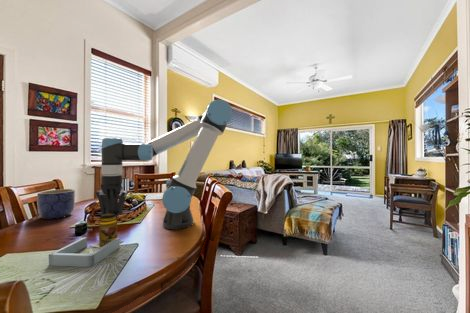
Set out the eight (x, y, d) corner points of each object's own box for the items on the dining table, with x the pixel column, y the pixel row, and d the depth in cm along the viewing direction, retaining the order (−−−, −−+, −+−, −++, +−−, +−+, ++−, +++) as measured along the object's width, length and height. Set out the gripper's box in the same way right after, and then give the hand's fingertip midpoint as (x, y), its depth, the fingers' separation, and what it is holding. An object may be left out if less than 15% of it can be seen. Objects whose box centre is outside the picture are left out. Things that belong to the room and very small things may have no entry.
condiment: (108, 248, 77) (108, 217, 77) (89, 246, 79) (89, 215, 79) (122, 241, 84) (122, 212, 84) (105, 239, 86) (105, 211, 86)
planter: (37, 216, 120) (37, 191, 120) (73, 211, 132) (73, 188, 132) (37, 223, 108) (36, 195, 108) (76, 216, 119) (76, 191, 119)
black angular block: (80, 238, 88) (80, 228, 88) (62, 239, 88) (62, 228, 88) (97, 228, 101) (97, 219, 101) (81, 229, 100) (81, 219, 100)
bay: (119, 247, 79) (119, 238, 79) (91, 266, 65) (91, 255, 65) (84, 246, 80) (84, 237, 80) (48, 265, 66) (48, 254, 66)
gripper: (132, 174, 89) (131, 228, 89) (103, 173, 90) (103, 227, 90) (121, 176, 82) (120, 235, 82) (90, 175, 83) (90, 233, 83)
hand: (111, 231), depth 86 cm, fingers closed
